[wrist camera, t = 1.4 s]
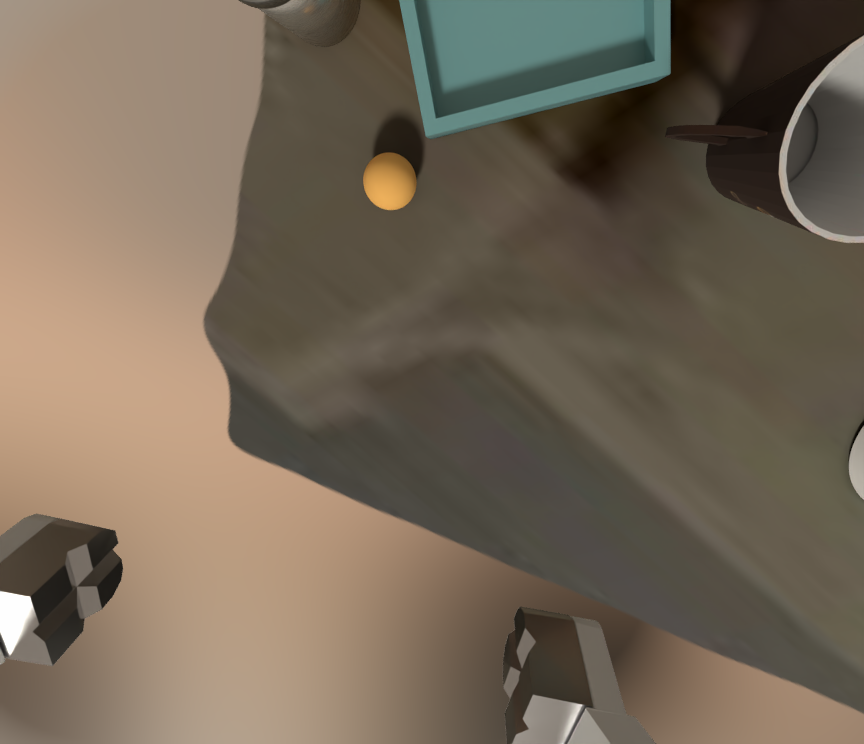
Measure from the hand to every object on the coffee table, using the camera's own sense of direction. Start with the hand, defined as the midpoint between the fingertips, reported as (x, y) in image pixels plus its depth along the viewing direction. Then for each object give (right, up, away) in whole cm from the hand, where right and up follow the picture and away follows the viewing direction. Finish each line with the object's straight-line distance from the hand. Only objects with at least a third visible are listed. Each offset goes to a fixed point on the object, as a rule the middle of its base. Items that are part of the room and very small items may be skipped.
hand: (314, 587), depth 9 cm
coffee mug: (+22, +19, +19) cm, 34 cm away
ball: (0, +18, +22) cm, 28 cm away
